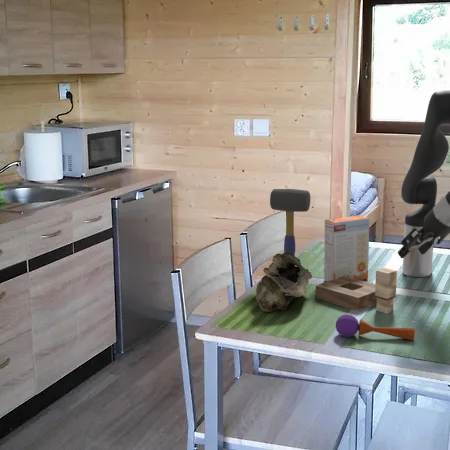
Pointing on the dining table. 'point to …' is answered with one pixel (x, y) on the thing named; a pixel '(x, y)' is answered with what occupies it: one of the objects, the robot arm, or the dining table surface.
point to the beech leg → (385, 289)
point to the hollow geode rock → (282, 282)
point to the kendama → (369, 328)
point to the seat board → (347, 293)
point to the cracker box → (346, 248)
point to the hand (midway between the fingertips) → (410, 253)
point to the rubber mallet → (290, 210)
